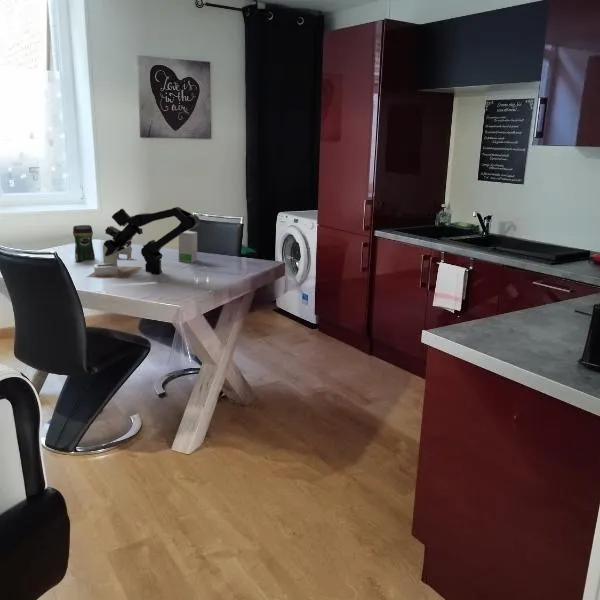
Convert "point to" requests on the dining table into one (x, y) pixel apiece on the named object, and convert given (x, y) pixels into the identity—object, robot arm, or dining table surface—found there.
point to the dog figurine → (125, 251)
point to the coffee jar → (83, 243)
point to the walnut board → (120, 272)
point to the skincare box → (188, 246)
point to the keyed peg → (110, 258)
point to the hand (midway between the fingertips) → (107, 255)
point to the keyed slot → (105, 269)
